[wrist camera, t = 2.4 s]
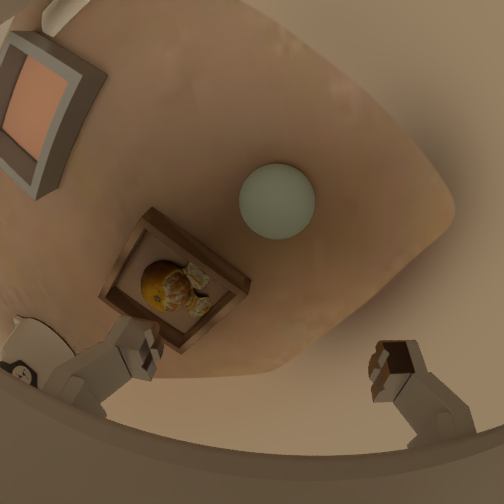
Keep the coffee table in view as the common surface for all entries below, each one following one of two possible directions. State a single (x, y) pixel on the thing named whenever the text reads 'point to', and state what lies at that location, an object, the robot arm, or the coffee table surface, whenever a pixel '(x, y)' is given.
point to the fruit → (174, 288)
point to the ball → (277, 201)
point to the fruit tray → (193, 254)
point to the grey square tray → (41, 108)
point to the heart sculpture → (45, 12)
